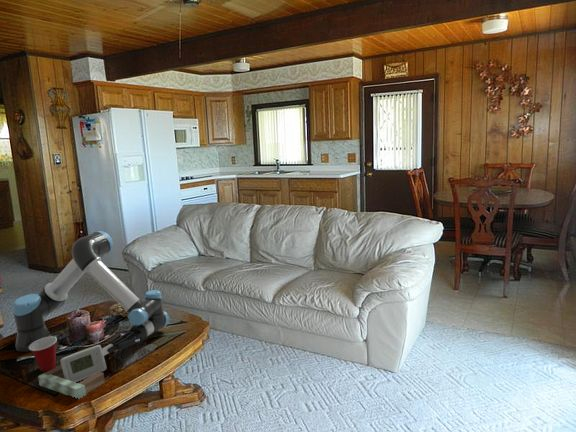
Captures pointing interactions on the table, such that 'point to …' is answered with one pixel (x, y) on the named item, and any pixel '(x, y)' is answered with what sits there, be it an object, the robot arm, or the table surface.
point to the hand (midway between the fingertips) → (99, 353)
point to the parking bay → (70, 383)
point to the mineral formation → (119, 310)
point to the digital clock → (83, 364)
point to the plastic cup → (44, 352)
